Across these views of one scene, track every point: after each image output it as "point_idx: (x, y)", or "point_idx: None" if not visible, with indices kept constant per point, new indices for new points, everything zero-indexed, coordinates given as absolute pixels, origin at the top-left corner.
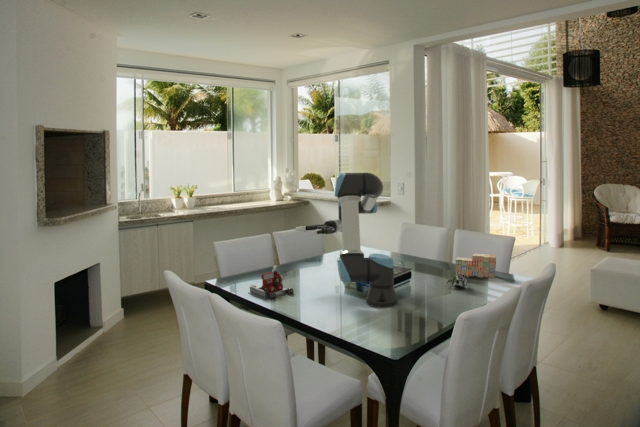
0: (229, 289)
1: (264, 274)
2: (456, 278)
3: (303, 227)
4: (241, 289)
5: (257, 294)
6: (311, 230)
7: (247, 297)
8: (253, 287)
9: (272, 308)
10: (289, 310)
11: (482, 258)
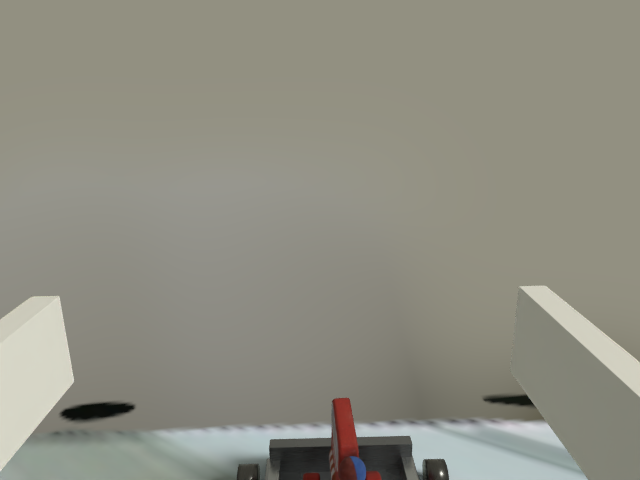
0: (520, 433)
1: (333, 401)
2: None
3: (625, 412)
4: (494, 464)
5: None
6: (56, 296)
7: None
8: (379, 438)
9: (152, 437)
10: (64, 465)
11: None
